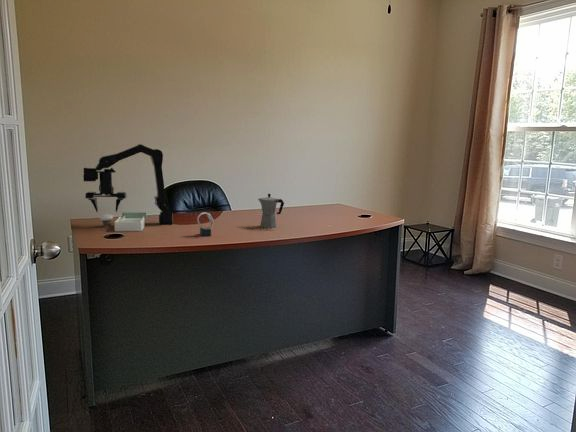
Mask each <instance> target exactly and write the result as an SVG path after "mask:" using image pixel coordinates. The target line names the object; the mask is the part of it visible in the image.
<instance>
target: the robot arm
mask: <svg viewBox="0 0 576 432" xmlns="http://www.w3.org/2000/svg"><path fill="white" fill-rule="evenodd" d="M139 153H141V154H144V155H146V156H148V157H150V160H151V163H152V166H153V173H154V180H155V185H156V196H153V198H154V205H156V207H157V209H159V210H160V213H159V215H158V223H159V225H173V224H174V221H173V220H174V219H173V215H174V214H173V212H174V209H173V208H172V207H171V206H170V202H169V200H168V197H167V194H166V190H165V189H166V188H165V181H164V175H163V161H164V160H163V158H164V153H163V151H162V150H161V149H158V148H157V149H156V148H150V147H147V146H145V145H144V144H142V143H139V144H137V145H135V146H132V147H130V148H127V149H125V150H121V151H119V152H118V153H113V154H107V155H103V156H101V157H99V158H98V163H97V165H96V166H95V167H83V174H82V175H83V176H82V177H83V182H84V183H85V182H92V183H93V182H97V180H99V185H98V191H99V192H96V191H87V192H86V193H85V195H84V196H85V199H88V201H90V203H91V204H92V205H93V207H94V209H95V212H96V213H98V212H99V209H98V208H99V207H98V201H97V200H98V198H116V199H115V213H117V212H118V210H119V206H120V204H121V201H123V200H124V199H126V198H127V192H126V191H118V192H116V193H115V190H114V189H115V188H114V186H113V182H112V181H113V177H112V173H113V174H114V173H117V172H116V170H114V168H113V167H112V166H114V165H115V164H117V162H118V163H119V162H120V161H122V160H125V159H127V158H130V157H133V156H134V155H137V154H139ZM110 167H111V168H110Z"/></svg>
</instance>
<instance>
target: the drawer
mask: <svg viewBox="0 0 576 432" xmlns="http://www.w3.org/2000/svg"><path fill="white" fill-rule="evenodd" d="M121 215H122V216H121V220H120V222H140V221H141V220H142V218H143V217H145V221H146V220H147V218H148V217H147V211H145V212H144V211H140V212H139V211H137V212H136V211H127V212H126V211H123V212H121Z"/></svg>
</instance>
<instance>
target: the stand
mask: <svg viewBox="0 0 576 432" xmlns="http://www.w3.org/2000/svg"><path fill="white" fill-rule="evenodd" d="M102 227H103V228H110V227H112V220H108V221H103V220H102Z"/></svg>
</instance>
